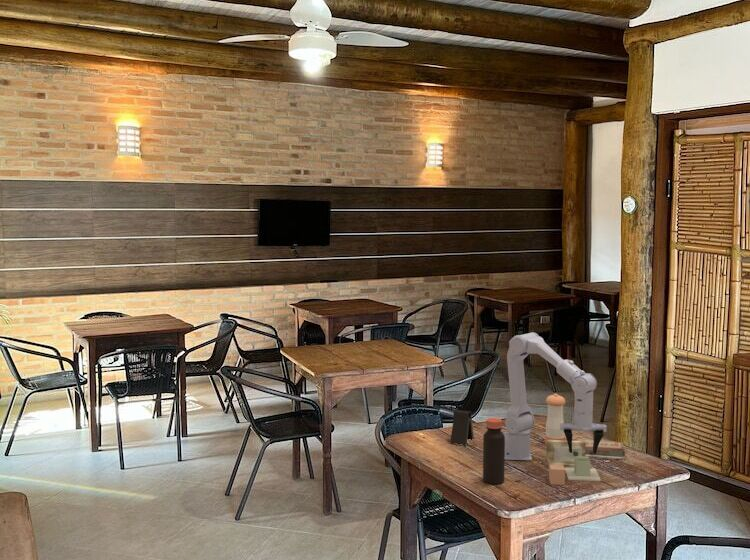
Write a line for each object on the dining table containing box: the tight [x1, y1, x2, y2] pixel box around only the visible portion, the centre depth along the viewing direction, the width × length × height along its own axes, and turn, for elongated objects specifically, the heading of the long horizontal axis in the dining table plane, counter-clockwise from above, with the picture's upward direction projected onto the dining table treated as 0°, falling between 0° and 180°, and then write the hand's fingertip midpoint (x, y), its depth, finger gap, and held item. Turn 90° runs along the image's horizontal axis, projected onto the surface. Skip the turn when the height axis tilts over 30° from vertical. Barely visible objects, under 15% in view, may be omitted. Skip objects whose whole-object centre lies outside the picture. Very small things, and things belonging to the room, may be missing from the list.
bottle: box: [482, 417, 506, 485], centre depth 237 cm, size 7×7×20 cm
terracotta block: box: [548, 464, 566, 486], centre depth 237 cm, size 4×4×5 cm
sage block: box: [574, 456, 591, 476], centre depth 242 cm, size 4×4×5 cm
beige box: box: [545, 440, 586, 468], centre depth 253 cm, size 13×8×7 cm, turn 83°
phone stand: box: [449, 408, 475, 446], centre depth 278 cm, size 9×6×12 cm, turn 151°
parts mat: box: [564, 467, 602, 482], centre depth 243 cm, size 10×10×1 cm
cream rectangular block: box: [553, 444, 582, 463], centre depth 253 cm, size 9×5×5 cm, turn 83°
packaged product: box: [575, 438, 626, 461], centre depth 264 cm, size 18×5×10 cm
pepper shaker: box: [544, 393, 566, 446], centre depth 273 cm, size 7×7×19 cm
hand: (582, 452), depth 242 cm, fingers open, 7 cm apart
